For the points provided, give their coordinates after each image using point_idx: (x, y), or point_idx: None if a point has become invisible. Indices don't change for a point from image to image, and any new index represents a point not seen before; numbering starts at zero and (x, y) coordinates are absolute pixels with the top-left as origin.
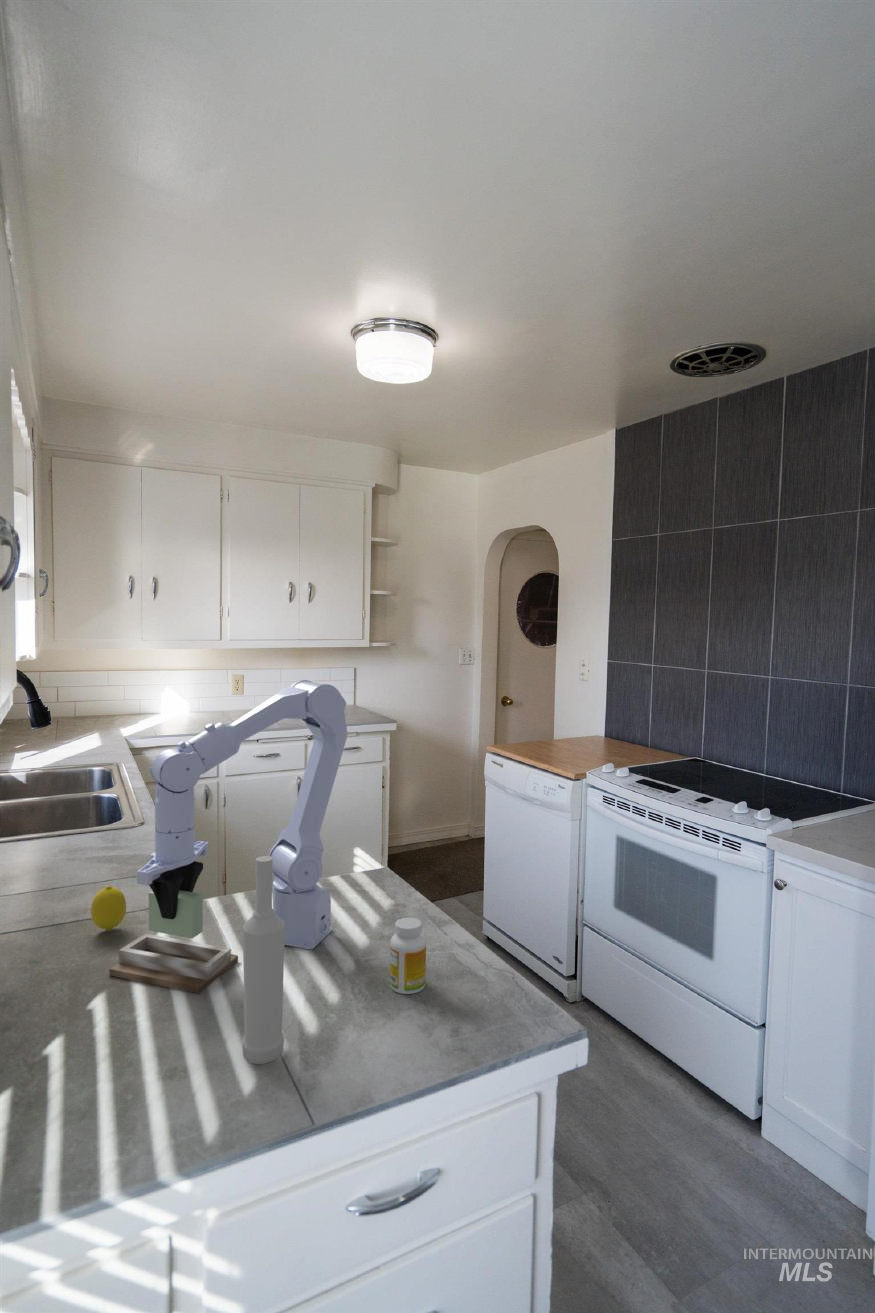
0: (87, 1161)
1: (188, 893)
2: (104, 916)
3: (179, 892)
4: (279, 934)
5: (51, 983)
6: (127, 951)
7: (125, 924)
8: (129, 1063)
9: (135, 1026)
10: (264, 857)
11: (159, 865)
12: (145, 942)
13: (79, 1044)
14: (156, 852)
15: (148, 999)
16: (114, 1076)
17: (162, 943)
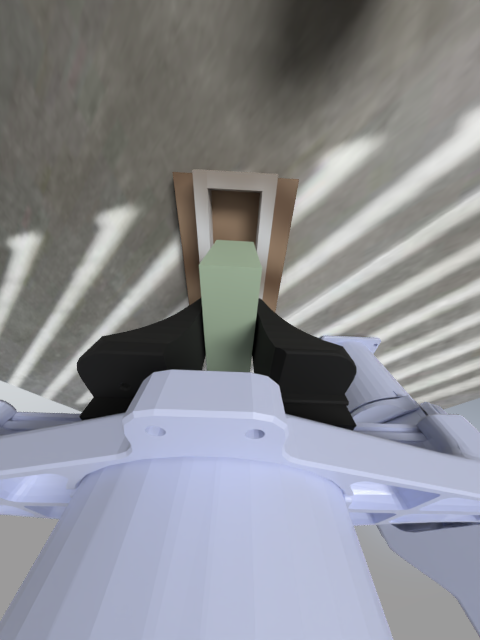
0: (7, 365)
1: (239, 369)
2: None
3: (237, 349)
4: None
5: (88, 39)
6: (195, 196)
7: None
8: (77, 333)
9: (114, 305)
10: None
11: (59, 495)
12: (257, 191)
13: (51, 271)
14: (11, 603)
15: (158, 285)
16: (58, 333)
17: (257, 235)
